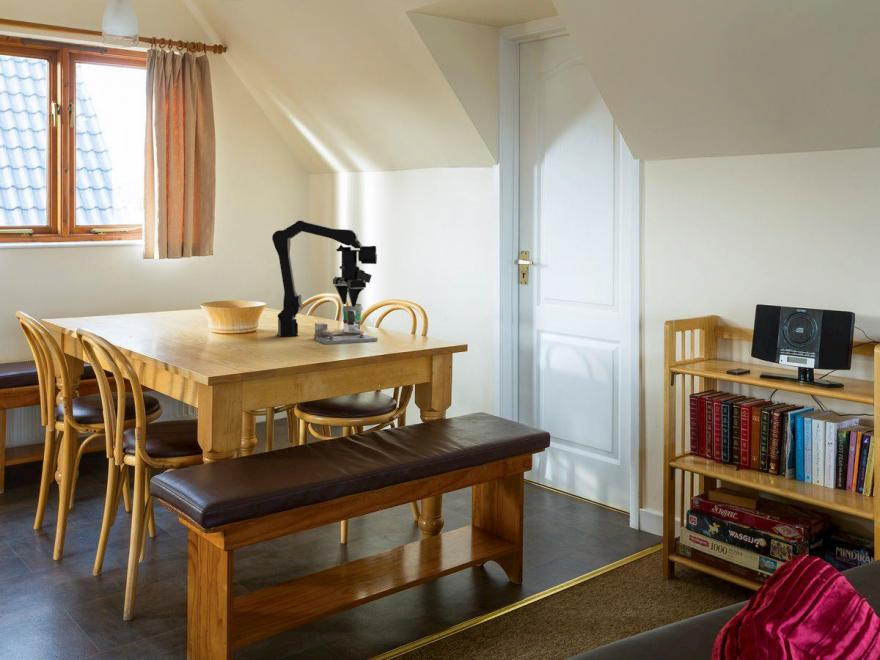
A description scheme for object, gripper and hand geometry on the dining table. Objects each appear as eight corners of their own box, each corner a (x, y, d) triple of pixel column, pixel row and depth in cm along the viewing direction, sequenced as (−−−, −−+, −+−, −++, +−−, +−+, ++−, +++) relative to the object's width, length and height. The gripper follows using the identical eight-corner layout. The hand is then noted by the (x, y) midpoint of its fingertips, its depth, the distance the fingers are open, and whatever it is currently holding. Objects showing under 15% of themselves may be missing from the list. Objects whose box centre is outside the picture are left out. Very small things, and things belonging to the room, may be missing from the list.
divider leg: (357, 336, 331) (357, 313, 330) (343, 331, 343) (343, 310, 342) (367, 335, 333) (367, 313, 332) (353, 331, 345) (353, 309, 344)
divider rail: (326, 342, 326) (326, 327, 325) (313, 337, 337) (313, 323, 337) (372, 339, 334) (372, 324, 334) (358, 335, 346) (358, 320, 345)
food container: (357, 332, 355) (357, 306, 354) (342, 331, 356) (342, 306, 355) (366, 328, 367) (366, 303, 366) (352, 327, 368) (351, 303, 367)
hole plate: (325, 344, 321) (325, 340, 321) (315, 340, 330) (315, 337, 330) (377, 341, 330) (377, 337, 330) (366, 337, 339) (366, 334, 339)
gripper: (379, 264, 334) (378, 307, 336) (359, 262, 351) (359, 302, 353) (351, 265, 329) (350, 308, 331) (332, 262, 345) (332, 303, 347)
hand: (349, 305), depth 341 cm, fingers open, 9 cm apart
